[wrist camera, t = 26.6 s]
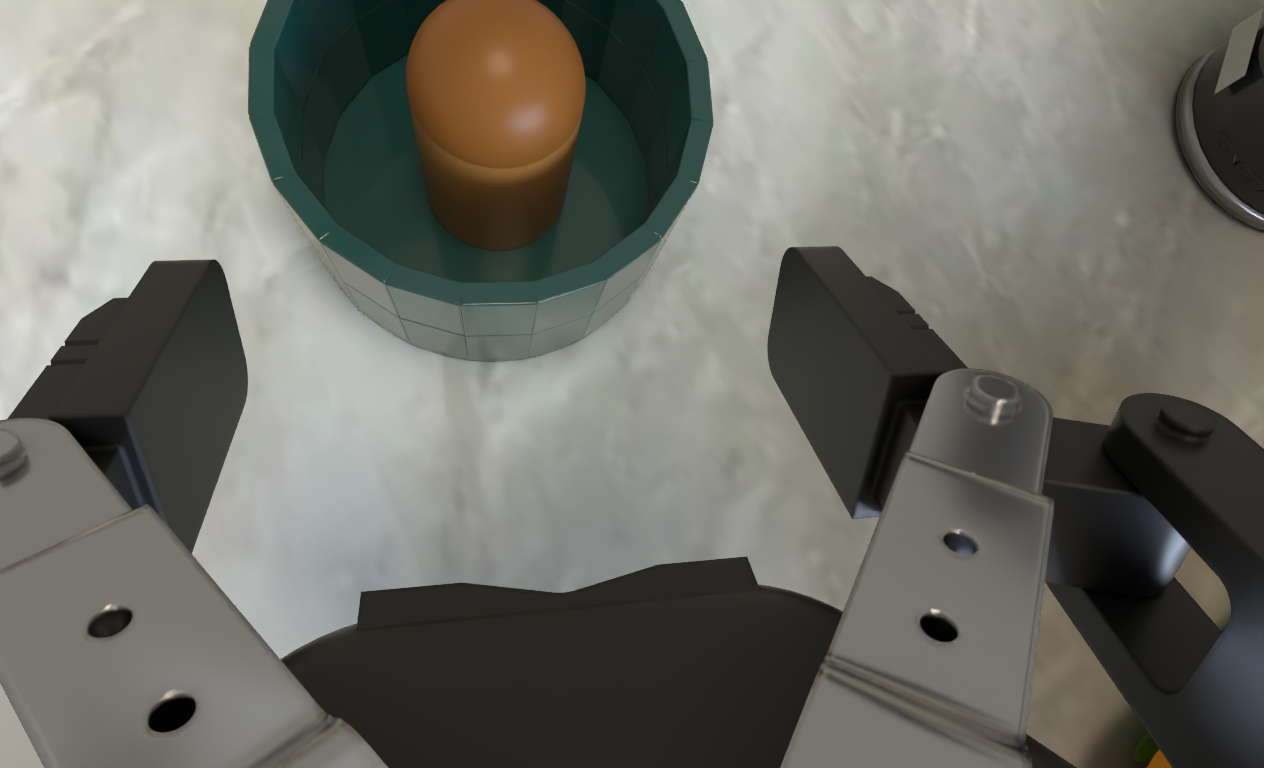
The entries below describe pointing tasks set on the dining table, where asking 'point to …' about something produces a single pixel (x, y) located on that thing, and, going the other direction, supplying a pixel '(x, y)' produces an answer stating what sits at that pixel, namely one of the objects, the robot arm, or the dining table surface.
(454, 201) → the brown rounded cylinder
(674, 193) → the pot
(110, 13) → the dining table surface
